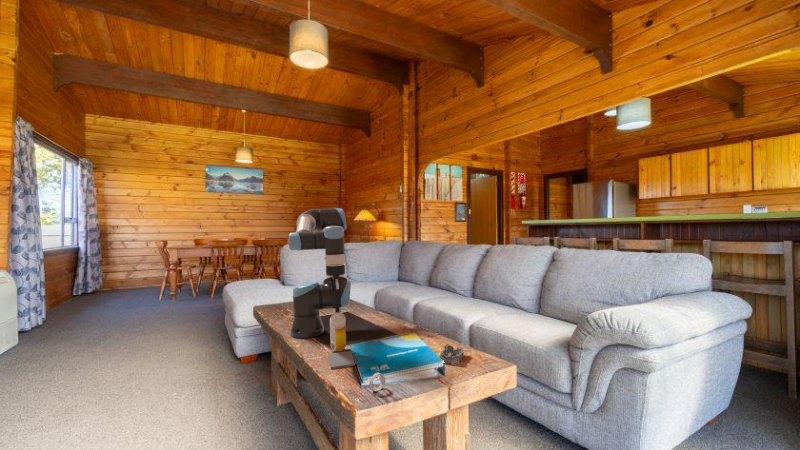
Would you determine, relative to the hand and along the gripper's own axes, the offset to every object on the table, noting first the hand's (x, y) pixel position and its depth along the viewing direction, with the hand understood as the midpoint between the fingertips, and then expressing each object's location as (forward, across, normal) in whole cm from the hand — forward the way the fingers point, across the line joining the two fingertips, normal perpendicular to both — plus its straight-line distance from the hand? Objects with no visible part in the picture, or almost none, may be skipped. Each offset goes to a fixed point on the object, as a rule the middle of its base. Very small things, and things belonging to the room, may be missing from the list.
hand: (337, 323), depth 144 cm
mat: (+11, +12, 0) cm, 16 cm away
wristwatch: (+11, +38, +8) cm, 41 cm away
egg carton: (+11, +24, +39) cm, 47 cm away
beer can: (+10, 0, 0) cm, 10 cm away
